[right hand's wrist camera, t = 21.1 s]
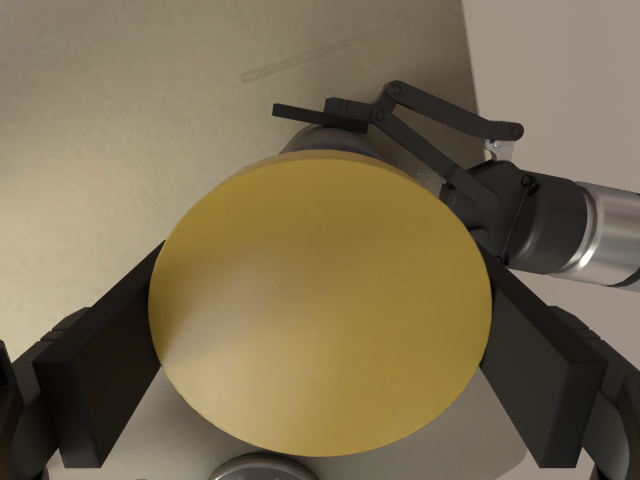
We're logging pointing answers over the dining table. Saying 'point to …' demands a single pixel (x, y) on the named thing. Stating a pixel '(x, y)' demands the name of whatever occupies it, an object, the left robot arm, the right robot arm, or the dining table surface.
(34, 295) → the dining table surface
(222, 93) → the dining table surface
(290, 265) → the lid
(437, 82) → the dining table surface
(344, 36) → the dining table surface
